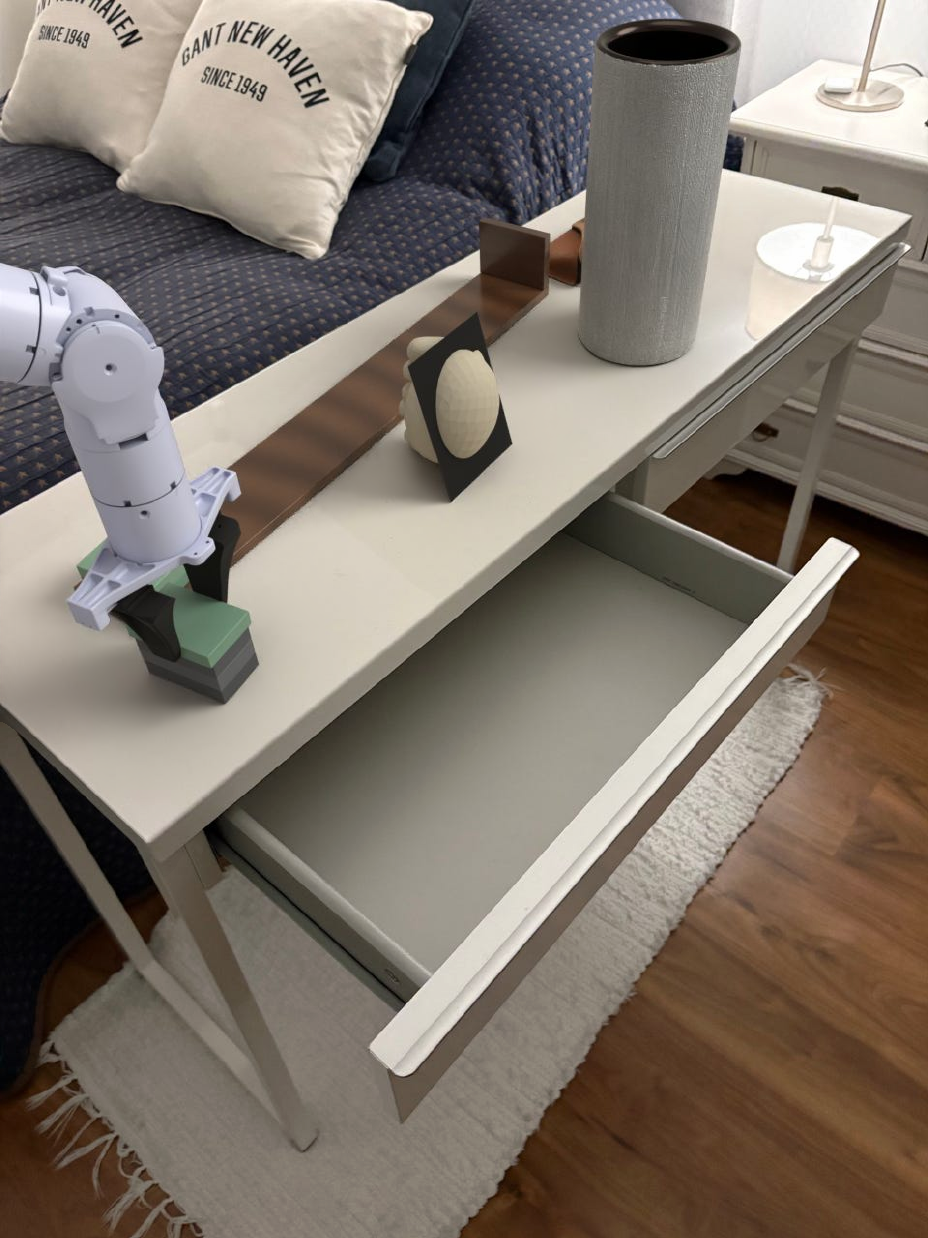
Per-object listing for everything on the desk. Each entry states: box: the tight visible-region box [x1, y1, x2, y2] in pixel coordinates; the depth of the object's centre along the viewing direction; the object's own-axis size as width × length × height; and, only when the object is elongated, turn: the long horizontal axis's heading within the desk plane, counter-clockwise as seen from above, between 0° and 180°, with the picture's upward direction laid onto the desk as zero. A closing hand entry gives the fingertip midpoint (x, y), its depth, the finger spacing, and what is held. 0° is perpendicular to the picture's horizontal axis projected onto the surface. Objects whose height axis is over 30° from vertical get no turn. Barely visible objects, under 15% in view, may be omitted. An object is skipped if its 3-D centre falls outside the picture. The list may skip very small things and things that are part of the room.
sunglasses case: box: [549, 216, 585, 287], centre depth 114 cm, size 18×7×7 cm, turn 142°
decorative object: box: [399, 312, 513, 503], centre depth 84 cm, size 13×10×10 cm
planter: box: [578, 18, 742, 366], centre depth 91 cm, size 12×12×28 cm
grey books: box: [134, 626, 260, 705], centre depth 70 cm, size 4×7×4 cm, turn 63°
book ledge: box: [73, 216, 551, 619], centre depth 90 cm, size 61×8×7 cm, turn 147°
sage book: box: [124, 582, 253, 668], centre depth 68 cm, size 5×7×1 cm, turn 63°
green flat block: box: [75, 538, 189, 592], centre depth 76 cm, size 5×7×2 cm, turn 63°
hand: (190, 629), depth 68 cm, fingers closed on sage book, 5 cm apart
